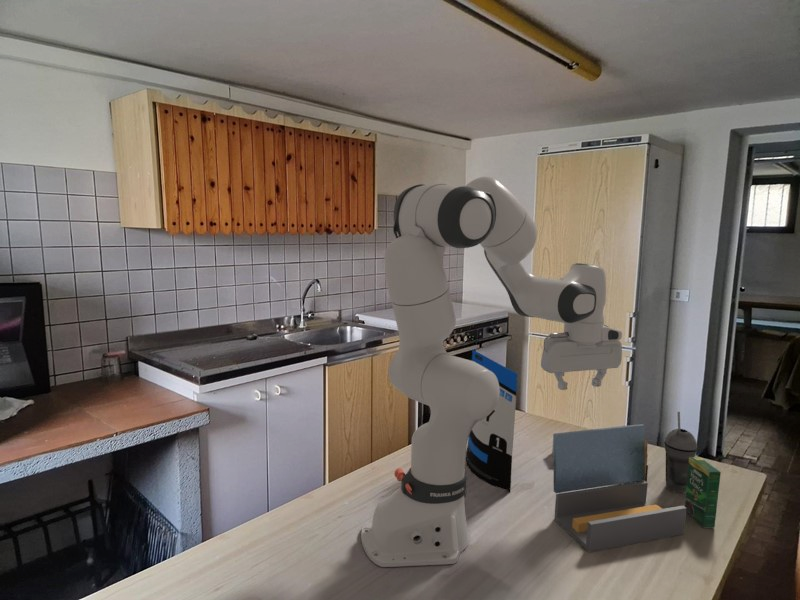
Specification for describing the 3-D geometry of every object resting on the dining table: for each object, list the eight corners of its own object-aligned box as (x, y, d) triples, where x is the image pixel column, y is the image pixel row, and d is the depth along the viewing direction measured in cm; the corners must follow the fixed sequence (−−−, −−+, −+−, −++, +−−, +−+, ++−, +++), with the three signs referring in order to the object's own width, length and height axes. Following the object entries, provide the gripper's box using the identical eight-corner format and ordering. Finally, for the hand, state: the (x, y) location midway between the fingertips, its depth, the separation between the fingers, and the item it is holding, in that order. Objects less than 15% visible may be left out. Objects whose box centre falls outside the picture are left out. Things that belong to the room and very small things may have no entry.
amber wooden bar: (577, 532, 107) (578, 523, 107) (572, 527, 109) (572, 518, 109) (662, 517, 113) (663, 509, 113) (655, 512, 115) (656, 504, 115)
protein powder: (482, 448, 149) (487, 348, 144) (527, 490, 126) (534, 372, 122) (452, 452, 146) (456, 350, 142) (492, 495, 123) (499, 375, 119)
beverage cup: (691, 499, 123) (700, 420, 120) (658, 490, 127) (666, 414, 124) (693, 486, 129) (701, 411, 127) (661, 478, 133) (668, 405, 130)
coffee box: (682, 507, 119) (688, 455, 118) (694, 508, 119) (700, 455, 118) (702, 528, 111) (708, 471, 110) (715, 528, 111) (722, 472, 110)
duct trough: (588, 552, 102) (591, 524, 101) (554, 519, 113) (556, 494, 113) (683, 534, 109) (686, 507, 108) (642, 504, 120) (644, 480, 120)
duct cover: (556, 434, 112) (553, 433, 113) (556, 493, 113) (553, 491, 113) (644, 425, 119) (641, 424, 120) (644, 479, 120) (641, 478, 120)
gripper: (552, 336, 115) (548, 395, 117) (628, 332, 121) (623, 388, 123) (537, 330, 121) (534, 386, 123) (610, 327, 127) (606, 380, 129)
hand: (579, 387), depth 123 cm, fingers open, 8 cm apart
